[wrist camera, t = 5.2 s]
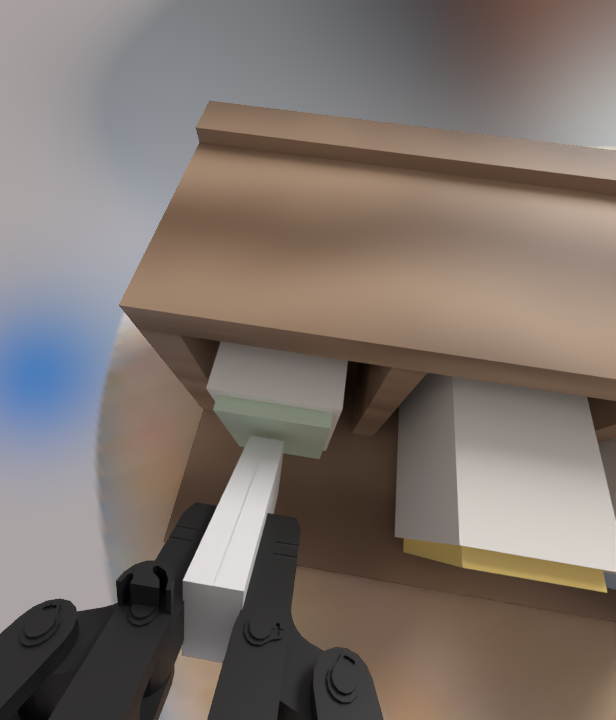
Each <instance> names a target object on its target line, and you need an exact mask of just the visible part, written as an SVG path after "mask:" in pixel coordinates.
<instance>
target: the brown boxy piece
mask: <svg viewBox="0 0 616 720" xmlns="http://www.w3.org/2000/svg"><path fill="white" fill-rule="evenodd" d="M196 130H197V134H198V138H199V142H200V143H199V145H198V147H197V149H196V151H195V153H194V155H193V157H192V159H191V161H190V163H189V165H188V167H187V169H186V171H185V173H184V175H183V177H182V179H181V181H180V183H179V185H178V187H177V189H176V192H175V193H174V196H173V197H172V199H171V201H170V203H169V205H168V208H167V209H166V211H165V213H164V215H163V217H162V220H161V221H160V223H159V225H158V228H157V230H156V231H155V234H154V236H153V238H152V240H151V242H150V244H149V246H148V248H147V250H146V252H145V254H144V256H143V258H142V260H141V262H140V264H139V266H138V268H137V270H136V272H135V274H134V276H133V278H132V280H131V282H130V284H129V286H128V288H127V290H126V292H125V294H124V296H123V298H122V300H121V302H120V304H119V306H120V307H121V308H122V310H123V311H124V312H125V313H126V315H127V316H128V317H129V318H130V319H131V321H132V322H133V323H134V324H135V326H136V327H137V328H138V329H139V331H140V332H141V333H142V334H143V336H144V337H145V338H146V339H147V340H148V342H149V343H150V344H151V345H152V347H153V348H154V349H155V350H156V352H157V353H158V354H159V355H160V357H161V358H162V359H163V360H164V361H165V363H166V364H167V365H168V366H169V368H170V369H171V370H172V371H173V373H174V374H175V375H176V376H177V377H178V379H179V380H180V381H181V382H182V384H183V385H184V386H185V387H186V389H187V390H188V391H189V392H190V394H191V395H192V396H193V397H194V398H195V400H196V401H197V402H198V403H199V405H200V406H201V407H202V408H203V410H204V411H203V414H202V417H201V420H200V424H199V427H198V430H197V434H196V437H195V440H194V443H193V447H192V450H191V453H190V456H189V460H188V463H187V466H186V470H185V473H184V476H183V479H182V483H181V486H180V489H179V493H178V496H177V499H176V502H175V506H174V509H173V512H172V515H171V519H170V522H169V525H168V529H167V532H166V535H165V538H164V542H166V541H167V539H169V536H170V534H171V533H172V531H173V529H174V528H175V526H176V524H177V522H178V521H179V519H180V517H181V515H182V514H183V512H184V511H186V510H187V509H188V508H189V507H190V506H192V505H193V504H194V503H195V502H197V503H203V504H210V505H216V506H218V504H219V502H220V500H221V497H222V495H223V493H224V491H225V489H226V487H227V485H228V482H229V480H230V478H231V476H232V474H233V472H234V469H235V467H236V465H237V463H238V461H239V459H240V457H241V454H242V452H243V450H244V448H245V447H242V446H239V445H238V443H237V442H236V441H235V439H234V438H233V437H232V435H231V434H230V432H229V431H228V430H227V428H226V427H225V426H224V424H223V423H222V421H221V420H220V419H219V417H218V416H217V415H216V413H215V412H214V410H213V408H214V405H215V401H214V399H213V398H212V396H211V395H210V393H209V392H208V390H207V389H206V387H207V384H208V381H209V377H210V374H211V371H212V368H213V365H214V361H215V358H216V355H217V352H218V349H219V345H220V342H221V341H222V342H228V343H235V344H242V345H248V346H255V347H261V348H268V349H275V350H281V351H288V352H294V353H301V354H308V355H314V356H321V357H328V358H334V359H341V360H347V361H348V364H347V373H346V382H345V391H344V400H343V409H342V412H341V414H340V417H339V419H338V422H337V424H336V427H335V429H334V432H333V434H332V437H331V439H330V442H329V444H328V447H327V449H326V451H322V454H321V457H320V459H315V458H309V457H303V456H297V455H291V454H285V453H283V459H282V467H281V476H280V484H279V492H278V497H277V501H276V505H275V510H274V514H276V515H282V516H288V517H295V518H296V519H297V521H298V524H299V527H300V530H301V532H300V540H299V548H298V556H297V564H296V565H297V566H303V567H309V568H314V569H320V570H326V571H331V572H337V573H342V574H348V575H354V576H359V577H365V578H371V579H376V580H382V581H388V582H393V583H399V584H405V585H410V586H416V587H422V588H427V589H433V590H439V591H444V592H450V593H455V594H461V595H467V596H472V597H478V598H484V599H489V600H495V601H501V602H506V603H512V604H518V605H523V606H529V607H535V608H540V609H546V610H552V611H557V612H563V613H569V614H574V615H580V616H585V617H591V618H597V619H602V620H608V621H614V622H616V590H615V589H610V588H607V593H606V592H600V591H594V590H588V589H583V588H577V587H571V586H565V585H560V584H554V583H548V582H542V581H537V580H531V579H525V578H519V577H514V576H508V575H502V574H496V573H491V572H485V571H479V570H473V569H467V568H462V567H458V566H454V565H451V564H447V563H443V562H439V561H435V560H431V559H428V558H424V557H420V556H416V555H412V554H408V553H405V552H403V547H404V538H398V537H395V511H396V481H397V451H398V421H399V406H400V404H401V403H402V402H403V401H404V400H405V399H406V397H407V396H408V395H409V394H410V393H411V392H412V391H413V389H414V388H415V387H416V386H417V385H418V384H419V383H420V381H421V380H422V379H423V378H424V377H425V376H426V374H427V373H433V374H440V375H446V376H453V377H460V378H466V379H473V380H479V381H486V382H493V383H499V384H506V385H513V386H519V387H526V388H532V389H539V390H546V391H552V392H559V393H565V394H572V395H579V396H585V397H587V399H588V403H589V408H590V412H591V416H592V421H593V425H594V429H595V433H596V438H597V442H598V443H600V442H604V441H607V440H611V439H615V438H616V151H615V150H607V149H599V148H590V147H582V146H574V145H565V144H557V143H549V142H541V141H533V140H525V139H517V138H508V137H500V136H492V135H484V134H475V133H468V132H459V131H451V130H443V129H435V128H427V127H419V126H410V125H402V124H394V123H386V122H377V121H370V120H361V119H352V118H345V117H337V116H328V115H320V114H312V113H303V112H296V111H288V110H279V109H271V108H263V107H254V106H247V105H239V104H230V103H222V102H214V101H209V103H208V105H207V107H206V109H205V111H204V113H203V115H202V117H201V118H200V120H199V122H198V124H197V126H196Z"/></svg>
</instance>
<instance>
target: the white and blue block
mask: <svg viewBox="0 0 616 720" xmlns="http://www.w3.org/2000/svg"><path fill="white" fill-rule="evenodd" d="M598 446H599V451H600V455H601V459H602V463H603V468H604V472H605V476H606V481H607V485H608V489H609V494H610V498H611V502H612V506H613V511H614V515H615V519H616V438H615V439H611V440H607V441H604V442H600V443H598ZM603 574H604V578H605V583H606V588H610V589H615V590H616V572H611V571H605V570H603Z"/></svg>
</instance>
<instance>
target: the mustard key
mask: <svg viewBox="0 0 616 720" xmlns="http://www.w3.org/2000/svg"><path fill="white" fill-rule="evenodd" d="M395 537H398V538H404V547H403V552H405V553H408V554H412V555H416V556H420V557H424V558H428V559H431V560H435V561H439V562H443V563H447V564H451V565H454V566H458V567H462V568H467V569H473V570H479V571H485V572H491V573H496V574H502V575H508V576H514V577H519V578H525V579H531V580H537V581H542V582H548V583H554V584H560V585H565V586H571V587H577V588H583V589H588V590H594V591H600V592H606V593H607V588H606V583H605V578H604V574H603V570H605V571H611V572H616V519H615V515H614V511H613V506H612V502H611V498H610V494H609V489H608V485H607V481H606V476H605V472H604V468H603V463H602V459H601V455H600V451H599V446H598V442H597V438H596V433H595V429H594V425H593V421H592V416H591V412H590V408H589V403H588V399H587V397H585V396H579V395H572V394H565V393H559V392H552V391H546V390H539V389H532V388H526V387H519V386H513V385H506V384H499V383H493V382H486V381H479V380H473V379H466V378H460V377H453V376H446V375H440V374H433V373H427V374H426V376H425V377H424V378H423V379H422V380H421V381H420V383H419V384H418V385H417V386H416V387H415V388H414V389H413V391H412V392H411V393H410V394H409V395H408V396H407V397H406V399H405V400H404V401H403V402H402V403H401V404H400V406H399V421H398V451H397V481H396V511H395Z"/></svg>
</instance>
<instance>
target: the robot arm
mask: <svg viewBox="0 0 616 720" xmlns="http://www.w3.org/2000/svg"><path fill="white" fill-rule="evenodd" d="M284 442H285V441H281V440H274V439H268V438H261V437H255V436H250V437H249V439H248V442H247V444H246V446H245V448H244V450H243V452H242V454H241V457H240V459H239V461H238V463H237V465H236V467H235V469H234V472H233V474H232V476H231V478H230V480H229V482H228V485H227V487H226V489H225V491H224V493H223V495H222V497H221V500H220V502H219V504H218V506H216V505H210V504H203V503H197V502H195V503H194V504H193V505H192V506H190V507H189V508H188V509H187V510H186V511H184V512H183V514H182V515H181V517H180V519H179V521H178V522H177V524H176V526H175V528H174V529H173V531H172V533H171V534H170V536H169V539H167V541H166V543H165V545H164V546H163V548H162V550H161V551H160V553H159V555H158V557H157V558H156V560H155V561H144V562H141V563H138V564H135V565H134V566H132V567H131V568H129V569H127V570H126V571H124V573H123V574H122V575H121V576H120V577H119V578H118V579H117V580H116V586H117V598H118V603H116V604H114V605H110V606H107V607H102V608H96V609H90V610H84V611H78V612H77V611H76V607H75V606H74V605H73V604H72V603H71V601H67V600H64V599H55V600H49V601H45V602H43V603H41V604H39V605H36V606H34V607H32V608H31V609H30V610H28V611H27V612H26V613H24V614H23V615H21V616H20V617H19V618H18V619H17V620H15V621H14V622H13V623H12V624H11V625H10V626H9V627H8V628H6V629H5V630H4V631H3V632H2V633H1V634H0V720H158V719H159V716H160V714H161V711H162V708H163V706H164V703H165V701H166V698H167V695H168V693H169V690H170V687H171V685H172V681H173V676H174V664H175V661H176V659H177V656H178V654H179V651H180V649H181V646H182V655H183V656H188V657H194V658H199V659H205V660H210V661H215V662H221V663H223V665H222V669H221V672H220V676H219V679H218V683H217V687H216V690H215V694H214V697H213V701H212V705H211V708H210V712H209V715H208V719H207V720H383V716H382V713H381V709H380V705H379V702H378V698H377V694H376V691H375V687H374V683H373V680H372V677H371V675H370V672H369V670H368V668H367V665H366V664H365V663H364V662H363V660H362V659H361V658H360V657H359V656H358V655H357V654H356V653H354V652H352V651H350V650H349V649H347V648H340V647H335V648H332V649H329V650H326V651H325V652H324V651H323V650H321V649H319V648H318V647H316V646H314V645H313V644H311V643H309V642H308V641H307V640H306V639H304V638H303V637H302V636H301V634H300V633H299V632H298V631H297V629H296V627H295V625H294V623H293V619H292V615H291V603H292V595H293V587H294V580H295V572H296V564H297V556H298V548H299V540H300V532H301V530H300V527H299V524H298V521H297V519H296V518H295V517H288V516H282V515H276V514H274V510H275V505H276V501H277V497H278V492H279V484H280V476H281V467H282V459H283V450H284Z"/></svg>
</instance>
